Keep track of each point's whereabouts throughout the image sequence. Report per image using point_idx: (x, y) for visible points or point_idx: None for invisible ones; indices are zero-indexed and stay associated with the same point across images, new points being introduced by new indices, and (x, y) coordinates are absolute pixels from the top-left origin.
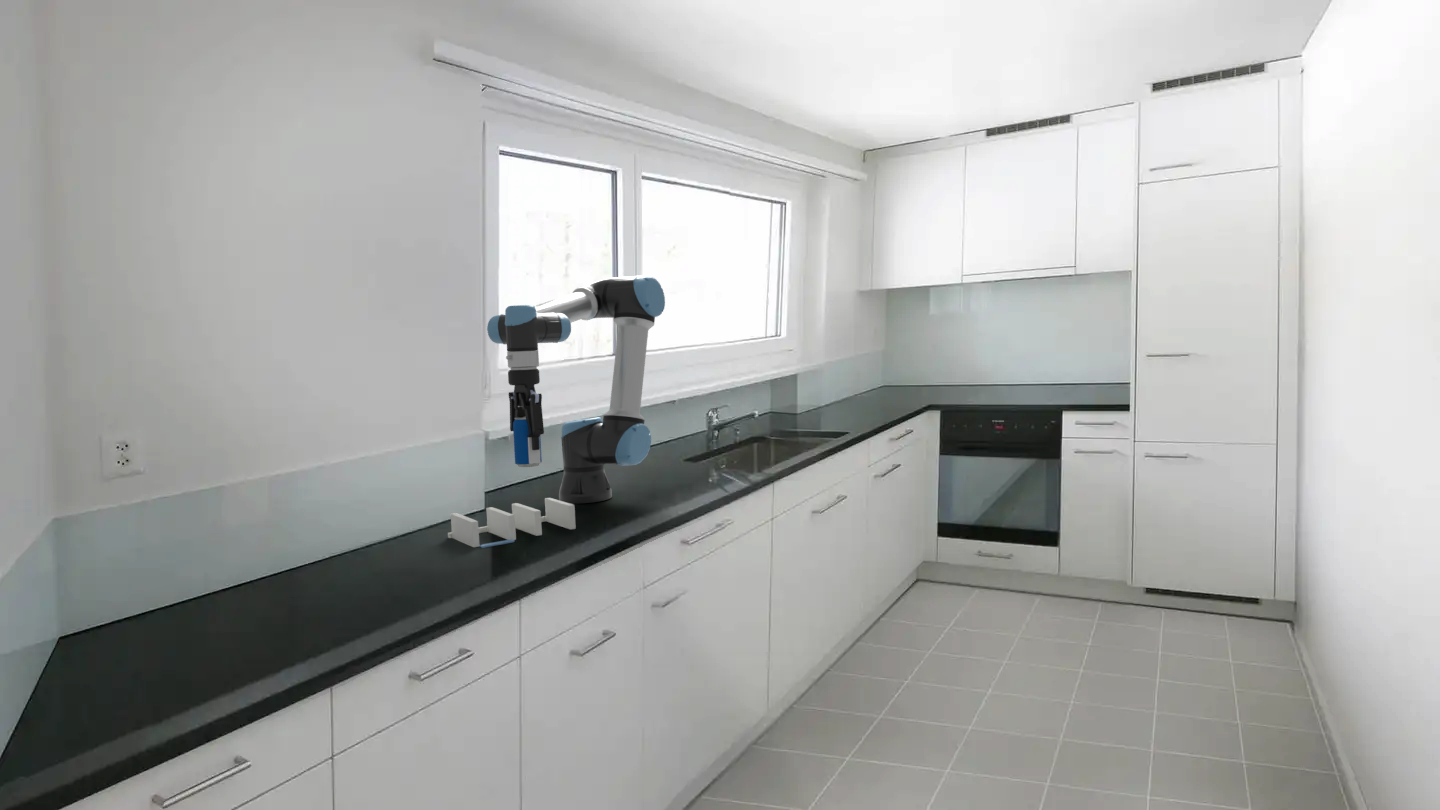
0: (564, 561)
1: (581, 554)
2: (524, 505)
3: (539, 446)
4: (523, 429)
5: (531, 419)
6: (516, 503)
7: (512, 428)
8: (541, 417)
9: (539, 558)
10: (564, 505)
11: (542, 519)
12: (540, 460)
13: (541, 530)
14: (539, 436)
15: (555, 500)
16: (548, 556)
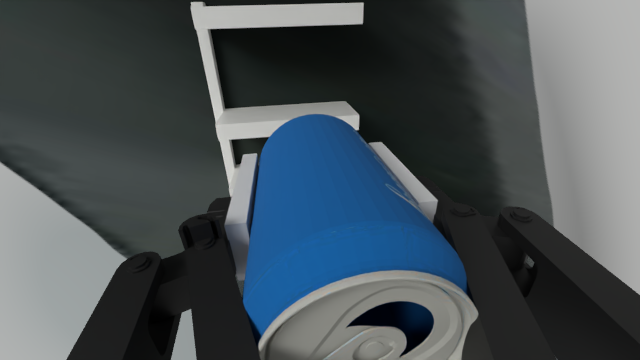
0: (535, 145)
1: (530, 106)
2: (265, 122)
3: (410, 172)
4: (413, 309)
5: (553, 351)
6: (221, 128)
7: (178, 317)
8: (636, 306)
9: (487, 168)
10: (333, 24)
11: (211, 40)
12: (359, 134)
13: (347, 103)
14: (397, 181)
15: (253, 16)
16: (490, 153)
